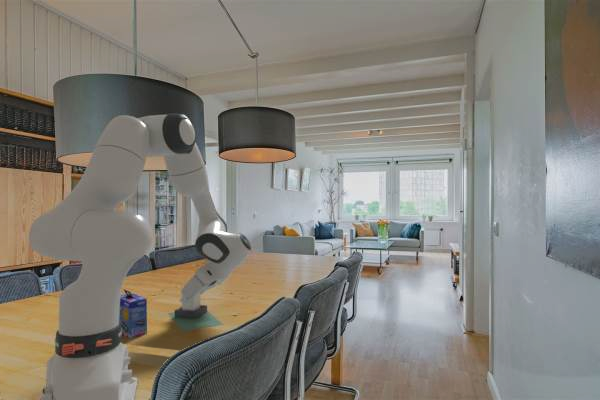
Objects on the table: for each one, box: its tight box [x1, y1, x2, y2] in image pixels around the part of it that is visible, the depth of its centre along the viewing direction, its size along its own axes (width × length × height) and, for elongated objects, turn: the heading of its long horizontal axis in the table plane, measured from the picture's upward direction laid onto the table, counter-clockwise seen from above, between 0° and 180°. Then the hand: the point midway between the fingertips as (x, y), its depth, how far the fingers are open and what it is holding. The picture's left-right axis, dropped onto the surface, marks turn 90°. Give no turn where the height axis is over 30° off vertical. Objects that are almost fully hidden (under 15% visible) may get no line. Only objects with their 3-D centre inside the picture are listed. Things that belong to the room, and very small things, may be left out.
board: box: [168, 304, 224, 332], centre depth 119 cm, size 21×13×4 cm, turn 31°
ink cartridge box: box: [119, 289, 148, 339], centre depth 106 cm, size 10×6×14 cm, turn 51°
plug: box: [181, 293, 202, 311], centre depth 123 cm, size 4×4×9 cm
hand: (189, 298), depth 123 cm, fingers open, 8 cm apart
